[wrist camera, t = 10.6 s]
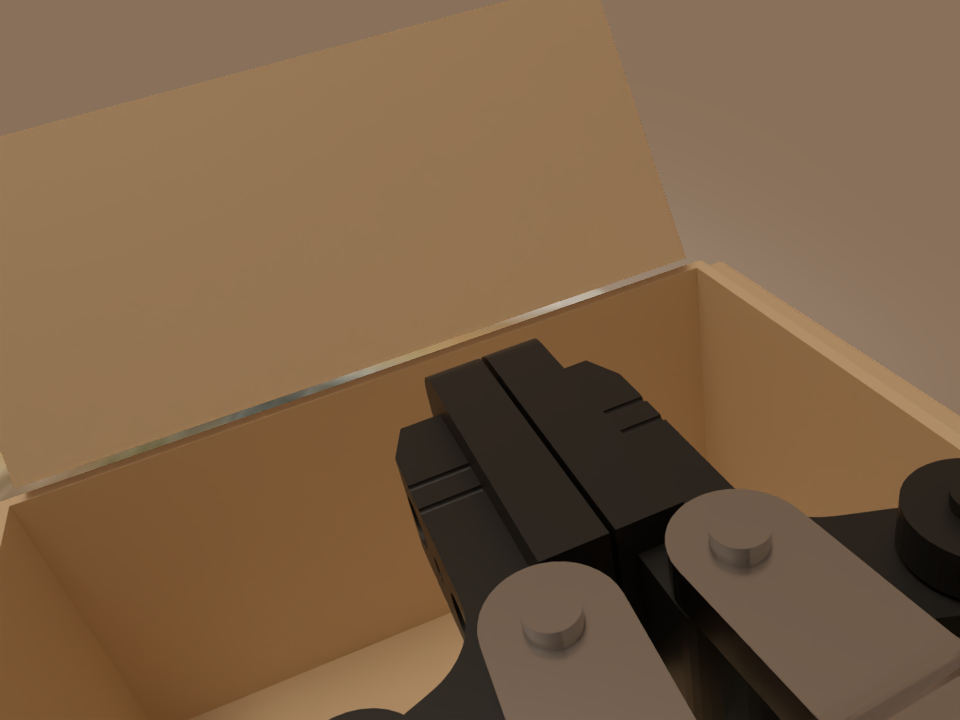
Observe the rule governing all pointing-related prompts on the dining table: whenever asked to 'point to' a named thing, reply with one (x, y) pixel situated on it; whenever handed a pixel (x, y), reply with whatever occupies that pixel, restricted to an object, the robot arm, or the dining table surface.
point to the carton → (400, 512)
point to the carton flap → (311, 223)
